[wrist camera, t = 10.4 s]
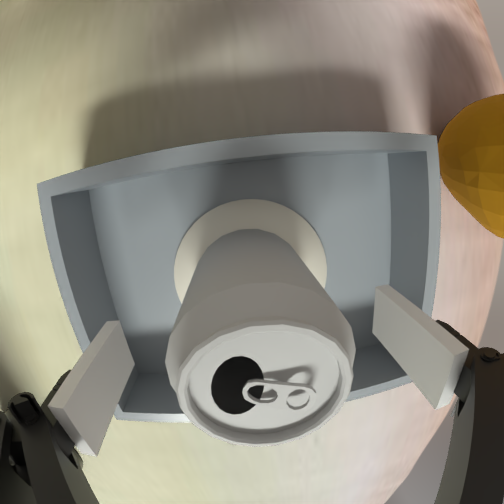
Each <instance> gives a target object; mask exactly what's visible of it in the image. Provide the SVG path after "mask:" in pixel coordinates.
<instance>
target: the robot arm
mask: <svg viewBox="0 0 504 504" xmlns="http://www.w3.org/2000/svg"><path fill="white" fill-rule="evenodd" d="M372 333H373V334H374V335H375V336H376V337H377V338H378V340H379V341H380V342H381V343H382V344H383V346H384V347H385V348H386V349H387V350H388V352H389V353H390V354H391V355H392V356H393V358H394V359H395V360H396V361H397V363H398V364H399V365H400V366H401V367H402V369H403V370H404V371H405V372H406V374H407V375H408V376H409V377H410V379H411V380H412V381H413V382H414V383H415V385H416V386H417V387H418V388H419V390H420V391H421V392H422V394H423V395H424V396H425V397H426V399H427V400H428V401H429V402H430V404H431V405H432V406H433V408H434V409H435V410H437V409H439V408H441V407H443V406H445V405H447V404H449V403H450V401H451V399H452V396H453V394H454V393H455V394H456V395H457V396H458V397H459V398H458V400H457V402H456V405H455V407H454V409H453V412H452V414H451V416H453V415H454V413H455V417H454V424H453V430H452V437H451V441H450V447H449V451H448V456H447V461H446V465H445V469H444V473H443V477H442V480H441V484H440V487H439V491H438V494H437V497H436V500H435V503H434V504H502V503H503V497H504V353H503V354H500V353H499V352H498V351H497V350H495V349H493V348H488V347H484V348H480V349H478V348H477V347H476V346H475V345H473V344H472V343H471V342H470V341H468V340H467V339H466V338H465V337H463V336H462V335H460V333H459V332H457V331H456V330H454V328H452V327H451V326H450V325H448V324H447V323H444V322H442V321H440V320H436V321H434V320H433V319H432V318H431V317H429V316H428V315H427V314H426V313H424V312H423V311H422V310H421V309H419V308H418V307H417V306H416V305H414V304H413V303H412V302H410V301H409V300H408V299H407V298H405V297H404V296H403V295H401V294H400V293H399V292H397V291H396V290H395V289H393V288H392V287H391V286H390V285H388V284H386V285H382V286H377V287H375V303H374V318H373V329H372ZM134 365H135V363H134V360H133V358H132V355H131V352H130V350H129V347H128V344H127V341H126V338H125V335H124V333H123V330H122V327H121V323H120V320H119V321H107V322H106V323H105V325H104V326H103V327H102V328H101V330H100V331H99V333H98V334H97V335H96V337H95V338H94V339H93V341H92V342H91V343H90V345H89V346H88V347H87V349H86V350H85V352H84V353H83V354H82V356H81V357H80V359H79V360H78V361H77V363H76V364H75V366H74V367H73V369H72V370H68V371H67V372H66V373H65V374H63V375H62V376H61V377H60V379H59V380H58V382H57V383H56V385H55V386H54V387H53V390H51V392H50V393H49V395H48V396H47V398H46V399H45V401H44V402H43V404H42V405H41V407H40V406H39V404H38V403H37V401H36V399H35V398H34V396H33V394H31V393H29V392H23V393H19V394H17V395H15V396H14V397H13V398H12V399H11V400H10V402H9V403H8V410H7V411H6V412H5V413H4V412H2V411H0V504H99V502H98V500H97V498H96V497H95V495H94V493H93V491H92V489H91V487H90V485H89V483H88V481H87V479H86V477H85V475H84V473H83V471H82V467H83V463H82V460H81V458H80V456H79V455H78V454H77V452H76V451H75V450H74V449H73V448H74V446H76V447H77V448H78V450H79V451H80V452H81V453H82V454H85V455H91V456H96V457H97V455H98V453H99V450H100V447H101V445H102V442H103V439H104V437H105V434H106V432H107V429H108V427H109V424H110V422H111V419H112V417H113V414H114V412H115V409H116V407H117V404H118V402H119V400H120V397H121V395H122V392H123V390H124V388H125V385H126V383H127V381H128V378H129V376H130V374H131V372H132V369H133V367H134Z"/></svg>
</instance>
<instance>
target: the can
mask: <svg viewBox="0 0 504 504" xmlns="http://www.w3.org/2000/svg"><path fill="white" fill-rule="evenodd" d="M355 352H356V348H355V342H354V337H353V333H352V328H351V326H350V324H349V323H348V321H347V320H346V319H345V317H344V316H343V314H342V313H341V311H340V310H339V309H338V307H337V306H336V304H335V303H334V302H333V300H332V299H331V298H330V296H329V295H328V294H327V292H326V291H325V290H324V288H323V287H322V286H321V284H320V283H319V282H318V280H317V279H316V278H315V276H314V275H313V274H312V272H311V271H310V270H309V269H308V267H307V266H306V265H305V263H304V262H303V261H302V259H301V258H300V257H299V256H298V254H297V253H296V252H295V250H294V249H293V248H292V247H291V245H290V244H289V243H288V242H286V241H285V240H283V239H282V238H280V237H279V236H277V235H276V234H274V233H270V232H267V231H263V230H260V229H240V230H236V231H234V232H231V233H228V234H225V235H223V236H221V237H220V238H218V239H217V240H216V241H215V242H213V243H212V244H211V245H210V246H208V247H207V249H206V250H205V252H204V253H203V255H202V257H201V258H200V260H199V261H198V264H197V266H196V269H195V271H194V274H193V276H192V279H191V281H190V284H189V286H188V289H187V292H186V294H185V297H184V299H183V302H182V305H181V307H180V310H179V313H178V315H177V318H176V321H175V324H174V326H173V329H172V332H171V334H170V337H169V342H168V348H167V353H166V359H165V364H166V368H167V372H168V377H169V381H170V385H171V386H172V387H173V389H174V390H175V392H176V394H177V398H178V402H179V406H180V408H181V410H182V411H183V412H184V414H185V415H186V416H187V418H188V419H189V420H190V421H191V423H192V424H193V425H195V426H196V427H198V428H199V429H200V430H202V431H203V432H205V433H206V434H208V435H209V436H211V437H214V438H216V439H219V440H222V441H225V442H228V443H231V444H235V445H243V446H252V447H260V446H273V445H280V444H284V443H287V442H291V441H294V440H297V439H301V438H303V437H305V436H306V435H308V434H310V433H312V432H314V431H316V430H318V429H320V428H321V427H322V426H323V425H325V424H326V423H327V422H328V421H329V420H330V419H331V418H332V417H334V416H335V415H336V414H337V413H338V412H339V410H340V409H341V407H342V406H343V404H344V402H345V401H346V399H347V398H348V396H349V394H350V390H351V385H352V381H353V376H354V375H353V370H352V368H353V363H354V357H355Z"/></svg>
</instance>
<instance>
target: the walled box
mask: <svg viewBox="0 0 504 504" xmlns="http://www.w3.org/2000/svg"><path fill="white" fill-rule="evenodd" d="M37 189H38V196H39V203H40V209H41V215H42V221H43V226H44V231H45V236H46V240H47V245H48V249H49V253H50V257H51V261H52V265H53V269H54V273H55V276H56V280H57V283H58V286H59V290H60V293H61V296H62V299H63V302H64V305H65V308H66V311H67V314H68V317H69V319H70V322H71V325H72V327H73V330H74V333H75V335H76V338H77V340H78V343H79V345H80V347H81V350H82V352H83V353H84V352H85V350H86V349H87V347H88V346H89V345H90V343H91V342H92V341H93V339H94V338H95V337H96V335H97V334H98V333H99V331H100V330H101V328H102V327H103V326H104V325H105V323H106V322H107V321H119V320H120V323H121V327H122V330H123V333H124V335H125V338H126V341H127V344H128V347H129V350H130V352H131V355H132V358H133V360H134V363H135V365H134V367H133V369H132V372H131V374H130V376H129V378H128V381H127V383H126V385H125V388H124V390H123V392H122V395H121V397H120V400H119V402H118V404H117V407H116V409H115V412H114V416H115V418H116V419H117V420H128V421H144V422H191V421H190V420H189V419H188V418H187V416H186V415H185V414H184V412H183V411H182V410H181V408H180V406H179V402H178V398H177V394H176V392H175V390H174V389H173V387H172V386H171V385H170V381H169V377H168V372H167V368H166V364H165V359H166V353H167V348H168V342H169V337H170V334H171V332H172V329H173V326H174V324H175V321H176V318H177V315H178V313H179V310H180V307H181V305H182V302H183V299H184V297H185V294H186V292H187V289H188V286H189V284H190V281H191V279H192V276H193V274H194V271H195V269H196V266H197V264H198V261H199V260H200V258H201V257H202V255H203V253H204V252H205V250H206V249H207V247H208V246H210V245H211V244H212V243H213V242H215V241H216V240H217V239H218V238H220V237H221V236H223V235H225V234H228V233H231V232H234V231H236V230H240V229H260V230H263V231H267V232H270V233H274V234H276V235H277V236H279V237H280V238H282V239H283V240H285V241H286V242H288V243H289V244H290V245H291V247H292V248H293V249H294V250H295V252H296V253H297V254H298V256H299V257H300V258H301V259H302V261H303V262H304V263H305V265H306V266H307V267H308V269H309V270H310V271H311V272H312V274H313V275H314V276H315V278H316V279H317V280H318V282H319V283H320V284H321V286H322V287H323V288H324V290H325V291H326V292H327V294H328V295H329V296H330V298H331V299H332V300H333V302H334V303H335V304H336V306H337V307H338V309H339V310H340V311H341V313H342V314H343V316H344V317H345V319H346V320H347V321H348V323H349V324H350V326H351V328H352V333H353V337H354V342H355V348H356V352H355V357H354V363H353V368H352V370H353V375H354V376H353V381H352V385H351V390H350V394H349V396H348V398H347V399H346V401H345V402H347V401H351V400H355V399H359V398H363V397H366V396H370V395H373V394H377V393H380V392H383V391H387V390H390V389H393V388H396V387H399V386H402V385H405V384H408V383H411V382H413V381H412V380H411V379H410V377H409V376H408V375H407V374H406V372H405V371H404V370H403V369H402V367H401V366H400V365H399V364H398V363H397V361H396V360H395V359H394V358H393V356H392V355H391V354H390V353H389V352H388V350H387V349H386V348H385V347H384V346H383V344H382V343H381V342H380V341H379V340H378V338H377V337H376V336H375V335H374V334H373V333H372V329H373V318H374V303H375V287H377V286H382V285H386V284H388V285H390V286H391V287H392V288H393V289H395V290H396V291H397V292H399V293H400V294H401V295H403V296H404V297H405V298H407V299H408V300H409V301H410V302H412V303H413V304H414V305H416V306H417V307H418V308H419V309H421V310H422V311H423V312H424V313H426V314H427V315H428V316H429V317H431V316H432V310H433V304H434V297H435V289H436V281H437V272H438V261H439V248H440V226H441V189H440V168H439V154H438V144H437V136H435V135H424V134H411V133H395V132H362V131H339V132H306V133H288V134H274V135H262V136H252V137H243V138H234V139H226V140H218V141H211V142H205V143H198V144H192V145H186V146H180V147H175V148H169V149H164V150H159V151H154V152H149V153H144V154H140V155H135V156H131V157H127V158H123V159H118V160H114V161H110V162H107V163H103V164H99V165H95V166H92V167H88V168H85V169H81V170H78V171H75V172H71V173H68V174H65V175H62V176H59V177H56V178H53V179H50V180H47V181H44V182H41V183H38V184H37Z"/></svg>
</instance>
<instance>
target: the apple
mask: <svg viewBox="0 0 504 504" xmlns="http://www.w3.org/2000/svg"><path fill="white" fill-rule="evenodd" d="M438 154H439V168H440V173H441V176H442V179H443V182H444V184H445V185H446V187H447V188H448V189H449V191H450V192H451V194H452V195H453V196H454V198H455V199H456V200H457V201H458V202H459V203H460V204H461V205H462V206H463V207H464V208H465V209H466V210H467V211H468V212H469V213H470V214H471V215H472V216H473V217H474V218H475V219H476V220H477V221H478V222H479V223H480V224H481V225H482V226H484V227H485V228H486V229H487V230H489V231H490V232H492V233H493V234H495V235H496V236H498V237H501V238H504V94H499V95H494V96H491V97H488V98H484V99H481V100H478V101H476V102H474V103H472V104H470V105H468V106H466V107H465V108H463V109H462V110H461V111H460V112H459V113H458V114H457V115H456V116H455V117H454V118H453V119H452V120H451V121H450V122H449V123H448V124H447V126H446V127H445V129H444V131H443V133H442V134H441V136H440V139H439V142H438Z"/></svg>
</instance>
